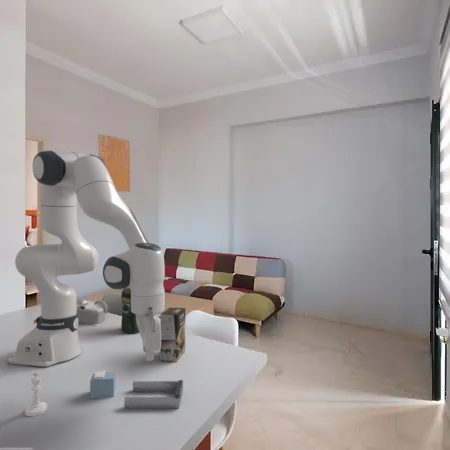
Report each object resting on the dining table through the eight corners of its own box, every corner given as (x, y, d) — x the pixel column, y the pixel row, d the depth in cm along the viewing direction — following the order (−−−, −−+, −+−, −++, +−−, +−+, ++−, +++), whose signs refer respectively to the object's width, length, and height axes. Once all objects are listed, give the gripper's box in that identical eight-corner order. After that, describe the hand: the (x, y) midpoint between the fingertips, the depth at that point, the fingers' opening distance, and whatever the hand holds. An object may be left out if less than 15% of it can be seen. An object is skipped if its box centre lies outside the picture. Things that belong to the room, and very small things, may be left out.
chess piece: (31, 405, 82) (30, 366, 82) (50, 404, 83) (50, 366, 83) (20, 416, 78) (20, 376, 77) (41, 415, 78) (41, 375, 78)
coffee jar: (147, 330, 138) (147, 288, 137) (132, 336, 131) (132, 291, 131) (133, 326, 143) (133, 285, 143) (118, 331, 137) (118, 288, 137)
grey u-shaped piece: (124, 408, 81) (124, 396, 81) (133, 389, 90) (133, 378, 90) (179, 408, 81) (179, 395, 81) (183, 389, 90) (183, 378, 90)
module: (90, 399, 86) (90, 378, 85) (93, 391, 89) (93, 371, 89) (113, 396, 87) (113, 376, 87) (115, 389, 91) (115, 369, 91)
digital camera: (115, 326, 153) (120, 307, 152) (89, 334, 141) (94, 313, 140) (93, 312, 161) (98, 293, 160) (68, 317, 149) (72, 298, 148)
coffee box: (177, 362, 108) (177, 314, 107) (159, 360, 109) (159, 313, 109) (186, 351, 117) (186, 307, 116) (169, 349, 118) (169, 306, 118)
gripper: (167, 312, 77) (167, 370, 77) (153, 294, 96) (153, 340, 96) (140, 315, 74) (140, 374, 74) (132, 296, 93) (132, 343, 94)
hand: (148, 355), depth 85 cm, fingers open, 5 cm apart
